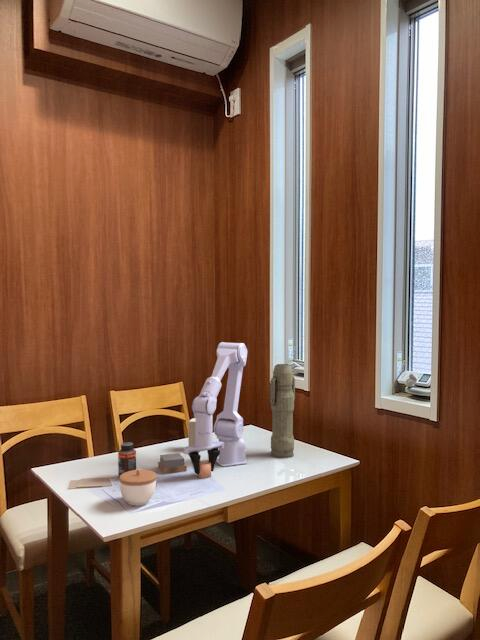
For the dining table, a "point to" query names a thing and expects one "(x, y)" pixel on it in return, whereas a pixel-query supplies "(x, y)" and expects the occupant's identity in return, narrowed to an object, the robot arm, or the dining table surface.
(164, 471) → the walnut slab
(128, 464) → the supplement bottle
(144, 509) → the dining table surface
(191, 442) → the skincare box
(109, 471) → the dining table surface
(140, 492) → the lidded jar
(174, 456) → the grey flat block
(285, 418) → the thermos
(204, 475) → the terracotta cylinder
